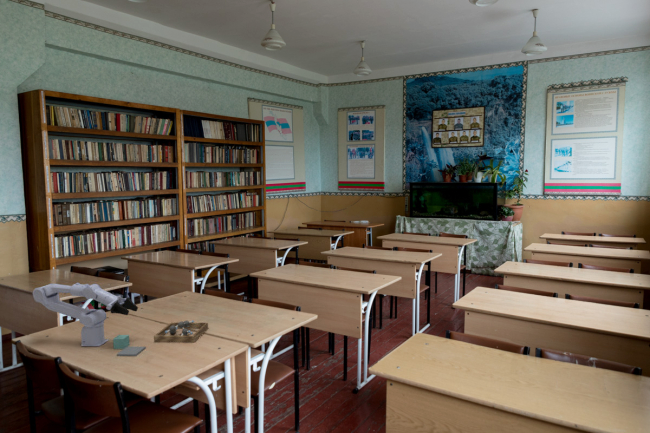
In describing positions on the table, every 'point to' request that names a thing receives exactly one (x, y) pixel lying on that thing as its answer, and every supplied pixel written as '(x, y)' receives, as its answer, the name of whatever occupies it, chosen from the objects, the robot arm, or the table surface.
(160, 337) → the display frame
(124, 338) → the cube
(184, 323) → the molecule model
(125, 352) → the mat
